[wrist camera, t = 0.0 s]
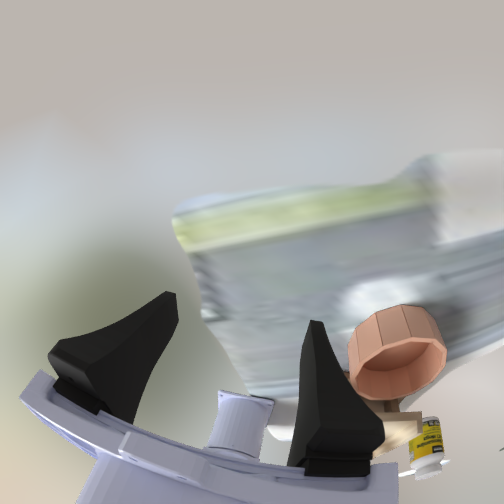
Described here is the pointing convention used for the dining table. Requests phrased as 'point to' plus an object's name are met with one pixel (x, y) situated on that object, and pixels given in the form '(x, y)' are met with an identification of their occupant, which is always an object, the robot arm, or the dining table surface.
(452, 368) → the dining table surface
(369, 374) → the cup
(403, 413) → the beige curved piece
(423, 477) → the pill bottle
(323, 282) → the dining table surface
